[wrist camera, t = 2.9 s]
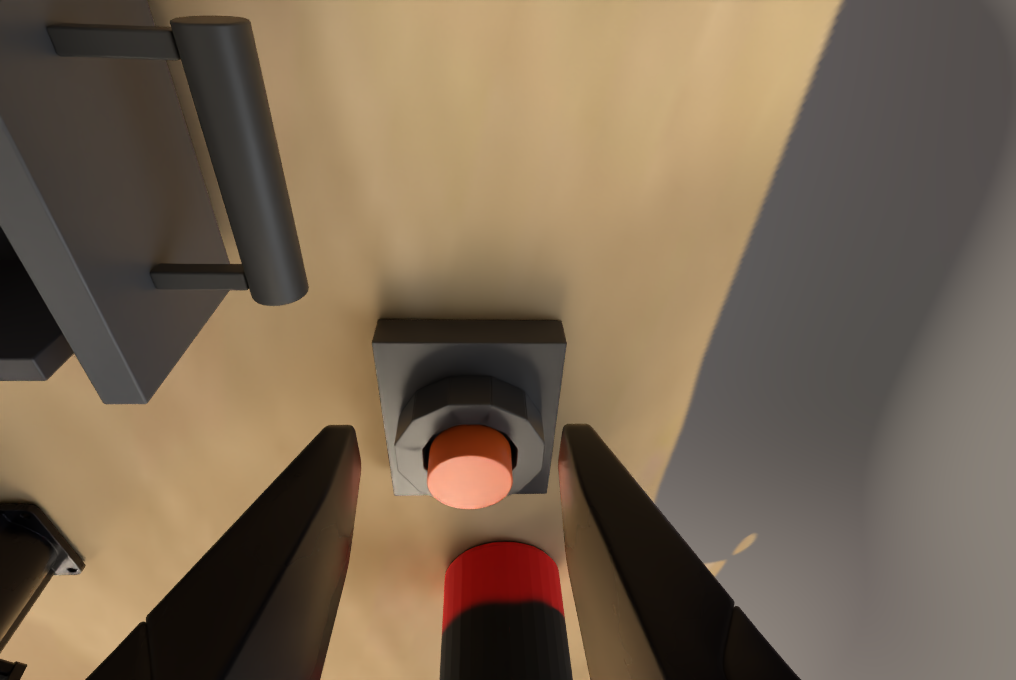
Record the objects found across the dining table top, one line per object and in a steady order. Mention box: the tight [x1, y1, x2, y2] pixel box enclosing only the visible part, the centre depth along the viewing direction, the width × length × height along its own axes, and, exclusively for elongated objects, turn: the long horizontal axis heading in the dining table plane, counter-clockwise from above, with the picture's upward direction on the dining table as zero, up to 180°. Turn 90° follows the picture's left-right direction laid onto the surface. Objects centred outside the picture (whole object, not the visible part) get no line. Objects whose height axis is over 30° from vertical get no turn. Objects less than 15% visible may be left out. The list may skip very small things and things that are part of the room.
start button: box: [427, 425, 513, 509], centre depth 23 cm, size 4×4×2 cm
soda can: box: [440, 542, 573, 680], centre depth 30 cm, size 8×8×12 cm
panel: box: [372, 319, 567, 497], centre depth 24 cm, size 10×8×4 cm
